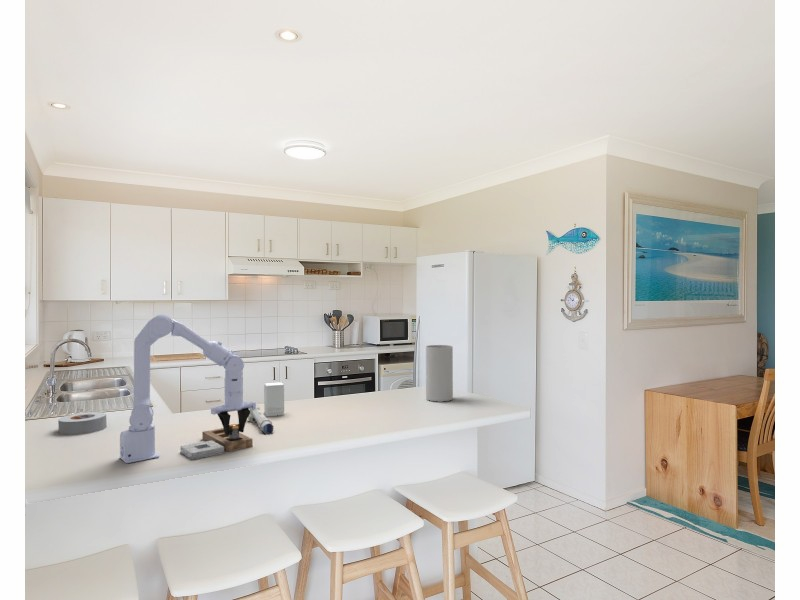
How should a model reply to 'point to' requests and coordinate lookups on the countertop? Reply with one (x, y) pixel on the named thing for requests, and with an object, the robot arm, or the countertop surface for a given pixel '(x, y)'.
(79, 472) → the countertop surface
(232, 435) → the steel peg
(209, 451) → the socket block
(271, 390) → the supplement box
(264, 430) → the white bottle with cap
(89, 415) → the tape roll
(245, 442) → the rack
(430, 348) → the cylinder vase
